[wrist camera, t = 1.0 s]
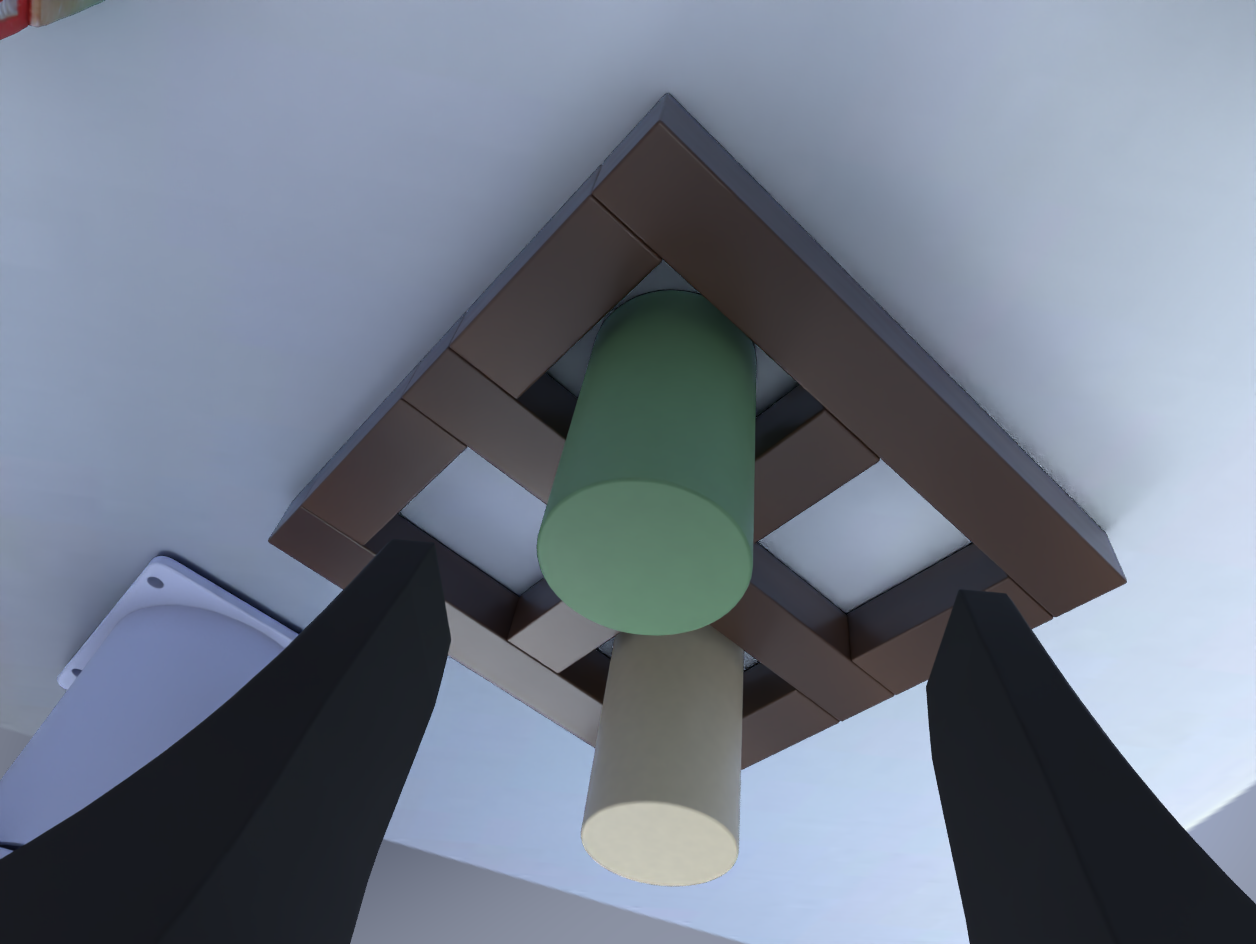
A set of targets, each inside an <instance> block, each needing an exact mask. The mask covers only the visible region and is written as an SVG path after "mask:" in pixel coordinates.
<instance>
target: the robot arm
mask: <svg viewBox="0 0 1256 944" xmlns="http://www.w3.org/2000/svg"><path fill="white" fill-rule="evenodd" d="M450 644H451V634H450V628H449V623H448V617H447V611H446V605H445V599H444V594H443V588H442V582H441V576H440V571H439V565H438V559H437V553H436V547H435V543H434V542H423V541H412V540H400V539H392V540H391V541H390V542H388V543H387V544H386V545H385V546H384V547H383V548H382V549H381V550H380V551H379V552H378V554H377V555H376V556H375V557H374V558H373V559H372V560H371V561H370V562H369V563H368V564H367V565H366V566H365V567H364V568H363V570H362V571H361V572H360V573H359V574H358V575H357V576H356V577H355V578H354V579H353V580H352V581H351V582H350V583H349V584H348V585H347V586H346V588H345V589H344V590H343V591H342V592H341V593H340V594H339V595H338V596H337V597H336V598H335V599H334V600H333V601H332V602H331V603H330V604H329V605H328V606H327V607H326V608H325V609H324V610H323V611H322V612H321V613H320V614H319V615H318V616H317V617H316V618H315V619H314V620H313V621H312V622H311V623H310V624H309V625H308V626H307V627H306V628H305V629H304V630H303V631H302V632H301V633H300V634H297V633H296V632H294V631H292V630H291V629H289V628H287V627H286V626H284V625H282V624H281V623H279V622H277V621H276V620H274V619H272V618H271V617H269V616H267V615H266V614H264V613H262V612H261V611H259V610H257V609H256V608H254V607H252V606H251V605H249V604H247V603H246V602H244V601H242V600H241V599H239V598H237V597H236V596H234V595H232V594H230V593H229V592H227V591H225V590H224V589H222V588H220V587H219V586H217V585H215V584H214V583H212V582H210V581H209V580H207V579H205V578H204V577H202V576H200V575H199V574H197V573H195V572H194V571H192V570H190V569H189V568H187V567H185V566H184V565H182V564H180V563H179V562H177V561H175V560H174V559H171V558H169V557H165V556H158V557H155V558H153V559H152V561H151V562H150V563H149V564H148V565H147V567H146V568H145V569H144V570H143V572H142V573H141V574H140V575H139V577H138V578H137V579H136V580H135V582H134V583H133V584H132V585H131V586H130V588H129V589H128V590H127V591H126V593H125V594H124V595H123V596H122V598H121V599H120V600H119V601H118V603H117V604H116V605H115V606H114V607H113V609H112V610H111V611H110V612H109V614H108V615H107V616H106V617H105V619H104V620H103V621H102V622H101V623H100V625H99V626H98V627H97V628H96V630H95V631H94V632H93V633H92V635H91V636H90V637H89V638H88V640H87V641H86V642H85V643H84V644H83V646H82V647H81V648H80V649H79V651H78V652H77V653H76V654H75V656H74V657H73V658H72V659H71V660H70V662H69V663H68V664H67V665H66V667H65V668H64V669H63V670H62V672H61V673H60V674H59V676H58V677H57V681H58V684H59V685H60V686H61V687H62V688H64V689H66V690H67V692H66V693H65V694H64V696H63V697H62V698H61V700H60V701H59V702H58V704H57V705H56V706H55V708H54V709H53V710H52V712H51V713H50V714H49V716H48V717H47V718H46V720H45V721H44V722H43V724H42V725H41V726H40V728H39V729H38V730H37V732H36V733H35V734H34V736H33V737H32V738H31V740H30V741H29V742H28V744H27V745H26V746H25V748H24V749H23V750H22V752H21V753H20V754H19V756H18V757H17V759H16V760H15V761H14V763H13V764H12V765H11V767H10V768H9V769H8V771H7V772H6V773H5V775H4V776H3V777H2V779H1V780H0V944H350V942H351V938H352V935H353V932H354V928H355V925H356V921H357V917H358V914H359V911H360V907H361V903H362V900H363V896H364V893H365V889H366V886H367V882H368V879H369V876H370V873H371V871H372V868H373V865H374V862H375V859H376V856H377V853H378V850H379V847H380V845H381V842H382V840H383V837H384V835H385V832H386V830H387V827H388V825H389V822H390V820H391V817H392V814H393V812H394V809H395V807H396V804H397V802H398V799H399V797H400V794H401V792H402V789H403V786H404V784H405V781H406V779H407V776H408V774H409V771H410V769H411V766H412V764H413V761H414V758H415V756H416V753H417V751H418V748H419V746H420V743H421V740H422V738H423V735H424V733H425V730H426V727H427V725H428V722H429V720H430V717H431V714H432V712H433V709H434V706H435V703H436V699H437V695H438V692H439V688H440V684H441V680H442V677H443V672H444V668H445V664H446V660H447V656H448V652H449V648H450ZM926 692H927V705H928V719H929V731H930V742H931V752H932V760H933V765H934V770H935V775H936V780H937V785H938V790H939V795H940V800H941V805H942V810H943V814H944V819H945V824H946V829H947V833H948V838H949V843H950V847H951V852H952V857H953V862H954V866H955V871H956V876H957V880H958V885H959V890H960V895H961V899H962V904H963V909H964V914H965V918H966V924H967V930H968V936H969V942H970V944H1256V904H1255V903H1254V902H1253V901H1252V900H1251V899H1250V898H1249V897H1248V896H1247V895H1246V894H1245V893H1244V892H1243V891H1242V890H1241V889H1240V888H1239V887H1238V886H1237V885H1236V884H1235V883H1234V882H1233V881H1232V880H1231V879H1230V878H1229V877H1228V876H1227V875H1226V874H1225V872H1223V871H1222V869H1221V868H1220V867H1219V866H1218V865H1217V864H1216V863H1215V862H1214V861H1213V860H1212V859H1211V858H1210V857H1209V855H1208V854H1207V853H1206V852H1205V851H1204V850H1203V849H1202V848H1201V847H1200V846H1199V845H1198V844H1197V843H1196V842H1195V841H1194V840H1193V838H1192V837H1191V836H1190V835H1189V834H1188V833H1187V832H1186V830H1185V829H1184V828H1183V827H1182V826H1181V825H1180V824H1179V823H1178V821H1177V820H1176V819H1175V818H1174V817H1173V816H1172V815H1171V813H1170V812H1169V811H1168V810H1167V809H1166V808H1165V806H1164V805H1163V804H1162V803H1161V802H1160V801H1159V799H1158V798H1157V797H1156V796H1155V795H1154V793H1153V792H1152V791H1151V790H1150V789H1149V787H1148V786H1147V785H1146V784H1145V782H1144V781H1143V780H1142V779H1141V778H1140V776H1139V775H1138V774H1137V773H1136V772H1135V770H1134V769H1133V768H1132V767H1131V765H1130V764H1129V763H1128V762H1127V760H1126V759H1125V758H1124V757H1123V755H1122V754H1121V753H1120V752H1119V750H1118V749H1117V748H1116V746H1115V745H1114V744H1113V743H1112V741H1111V740H1110V739H1109V737H1108V736H1107V735H1106V733H1105V732H1104V731H1103V729H1102V728H1101V727H1100V725H1099V724H1098V723H1097V721H1096V720H1095V719H1094V717H1093V716H1092V715H1091V713H1090V712H1089V711H1088V709H1087V708H1086V707H1085V705H1084V704H1083V703H1082V701H1081V700H1080V699H1079V697H1078V696H1077V694H1076V693H1075V692H1074V690H1073V689H1072V687H1071V686H1070V685H1069V683H1068V682H1067V680H1066V679H1065V678H1064V676H1063V675H1062V673H1061V672H1060V670H1059V669H1058V668H1057V666H1056V665H1055V663H1054V662H1053V660H1052V659H1051V658H1050V656H1049V655H1048V653H1047V652H1046V650H1045V649H1044V647H1043V646H1042V644H1041V643H1040V641H1039V640H1038V638H1037V637H1036V635H1035V634H1034V633H1033V631H1032V630H1031V628H1030V627H1029V625H1028V624H1027V622H1026V621H1025V619H1024V618H1023V616H1022V615H1021V613H1020V612H1019V610H1018V609H1017V607H1016V606H1015V604H1014V603H1013V601H1012V600H1011V599H1010V597H1009V596H1008V595H1007V594H1006V593H998V592H986V591H975V590H964V589H959V590H958V593H957V596H956V599H955V602H954V605H953V608H952V611H951V614H950V617H949V620H948V623H947V626H946V629H945V632H944V635H943V638H942V641H941V644H940V647H939V650H938V653H937V656H936V659H935V662H934V665H933V668H932V670H931V673H930V676H929V679H928V682H927V685H926Z"/></svg>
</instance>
